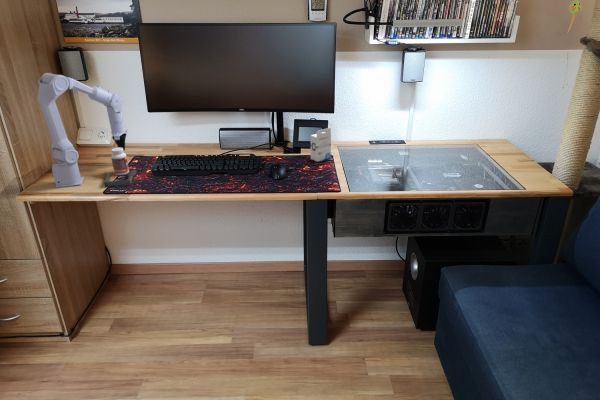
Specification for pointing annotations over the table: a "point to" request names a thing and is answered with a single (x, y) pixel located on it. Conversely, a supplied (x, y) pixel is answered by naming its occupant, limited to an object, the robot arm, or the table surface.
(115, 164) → the pill bottle
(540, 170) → the table surface
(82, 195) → the table surface
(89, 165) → the table surface
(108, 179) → the mount cradle
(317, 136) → the ink box
